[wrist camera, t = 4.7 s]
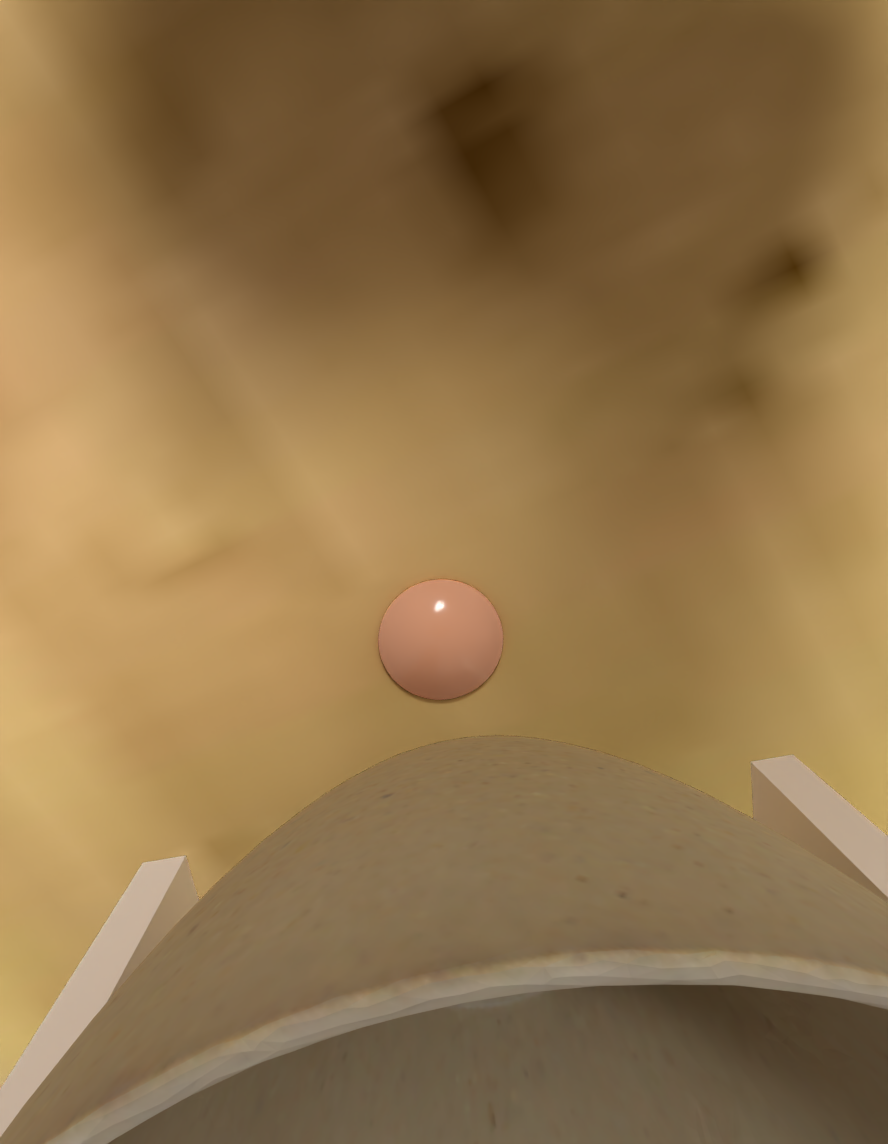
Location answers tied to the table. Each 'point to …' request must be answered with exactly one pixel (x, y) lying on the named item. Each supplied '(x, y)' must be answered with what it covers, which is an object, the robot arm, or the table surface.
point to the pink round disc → (440, 639)
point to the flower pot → (498, 975)
